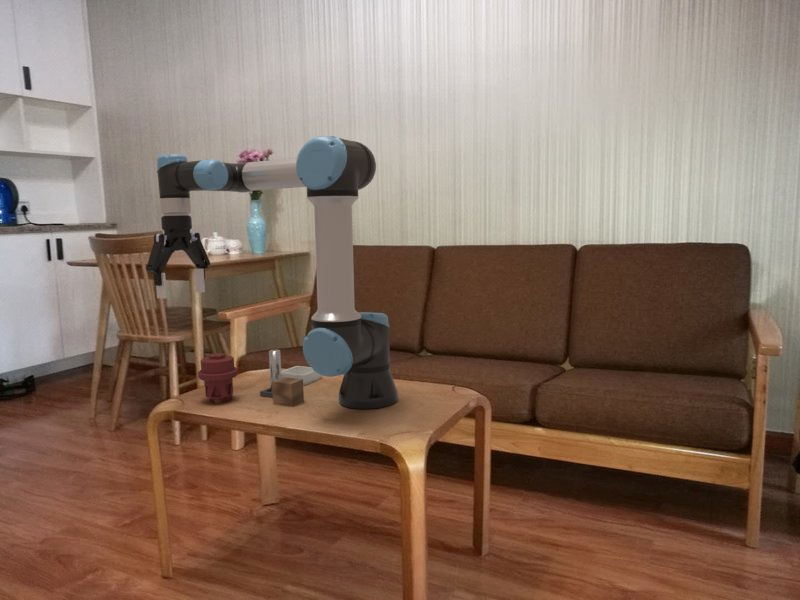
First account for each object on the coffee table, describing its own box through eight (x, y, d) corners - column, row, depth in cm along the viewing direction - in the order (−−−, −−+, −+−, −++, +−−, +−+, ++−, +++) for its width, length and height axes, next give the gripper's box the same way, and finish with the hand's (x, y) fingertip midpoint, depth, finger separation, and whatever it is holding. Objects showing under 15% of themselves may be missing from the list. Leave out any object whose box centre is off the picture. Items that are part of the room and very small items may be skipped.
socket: (293, 392, 171) (292, 388, 171) (279, 398, 165) (278, 393, 165) (274, 390, 174) (274, 385, 174) (260, 395, 168) (260, 391, 168)
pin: (284, 393, 170) (282, 350, 169) (277, 396, 168) (275, 352, 166) (275, 392, 172) (273, 349, 170) (268, 395, 169) (266, 351, 167)
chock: (303, 401, 162) (302, 379, 161) (292, 407, 158) (291, 383, 157) (285, 399, 165) (284, 377, 164) (273, 404, 160) (272, 381, 160)
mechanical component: (220, 408, 158) (191, 403, 163) (247, 397, 167) (219, 393, 172) (217, 360, 157) (188, 357, 161) (244, 352, 165) (216, 349, 170)
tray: (322, 378, 186) (321, 368, 185) (304, 385, 177) (303, 375, 177) (296, 375, 190) (296, 365, 189) (278, 382, 182) (277, 372, 181)
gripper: (199, 215, 177) (204, 289, 180) (126, 215, 155) (133, 300, 158) (220, 214, 174) (224, 290, 177) (148, 214, 152) (155, 301, 154)
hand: (181, 295), depth 167 cm, fingers open, 13 cm apart
